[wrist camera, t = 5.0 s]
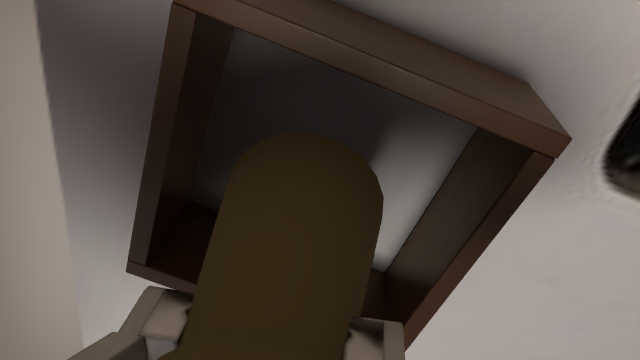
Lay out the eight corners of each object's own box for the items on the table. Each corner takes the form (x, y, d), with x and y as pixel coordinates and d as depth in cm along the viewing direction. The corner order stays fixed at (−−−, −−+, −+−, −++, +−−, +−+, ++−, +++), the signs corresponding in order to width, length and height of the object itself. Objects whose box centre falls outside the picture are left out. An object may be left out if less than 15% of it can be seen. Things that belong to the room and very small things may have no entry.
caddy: (172, 206, 23) (124, 272, 19) (229, -44, 17) (176, -27, 12) (392, 288, 24) (393, 368, 20) (529, 83, 18) (573, 139, 13)
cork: (391, 259, 18) (402, 639, 9) (249, 267, 19) (124, 610, 10) (373, 122, 15) (360, 478, 6) (206, 142, 16) (-33, 464, 7)
